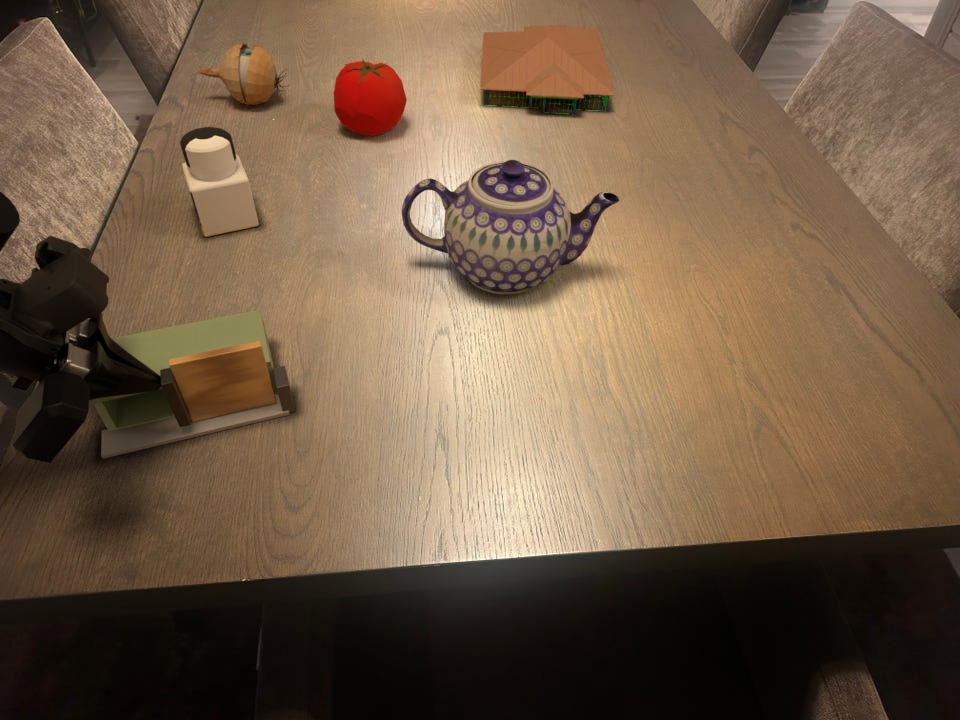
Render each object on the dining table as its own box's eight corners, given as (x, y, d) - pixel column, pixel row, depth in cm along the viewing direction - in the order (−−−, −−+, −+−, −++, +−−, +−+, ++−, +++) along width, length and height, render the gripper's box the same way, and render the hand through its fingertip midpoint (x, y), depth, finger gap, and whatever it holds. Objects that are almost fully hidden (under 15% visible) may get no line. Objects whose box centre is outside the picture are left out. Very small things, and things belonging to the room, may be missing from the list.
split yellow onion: (288, 64, 106) (189, 35, 103) (281, 122, 112) (187, 96, 109) (299, 51, 114) (208, 24, 111) (292, 105, 119) (205, 81, 116)
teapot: (395, 301, 80) (387, 190, 69) (413, 227, 91) (409, 121, 80) (607, 317, 79) (632, 208, 68) (600, 241, 90) (621, 136, 79)
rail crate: (102, 458, 63) (81, 424, 59) (105, 378, 70) (86, 342, 66) (296, 413, 67) (287, 378, 64) (280, 341, 74) (271, 307, 71)
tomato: (322, 122, 110) (313, 58, 103) (381, 105, 116) (377, 43, 108) (360, 152, 104) (354, 86, 97) (421, 132, 109) (420, 69, 102)
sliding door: (182, 434, 64) (157, 377, 58) (181, 418, 65) (156, 361, 60) (278, 411, 67) (263, 355, 61) (275, 397, 68) (260, 340, 62)
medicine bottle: (195, 210, 91) (169, 126, 83) (248, 199, 94) (229, 117, 85) (204, 238, 87) (177, 153, 78) (259, 226, 89) (240, 142, 81)
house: (479, 114, 114) (481, 66, 109) (483, 41, 138) (484, -2, 132) (613, 121, 115) (622, 73, 109) (594, 46, 138) (601, 3, 132)
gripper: (-12, 327, 41) (220, 403, 52) (20, 174, 53) (202, 261, 64) (-89, 439, 45) (143, 488, 55) (-42, 271, 57) (141, 338, 67)
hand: (160, 384), depth 60 cm, fingers closed, pressing on sliding door
